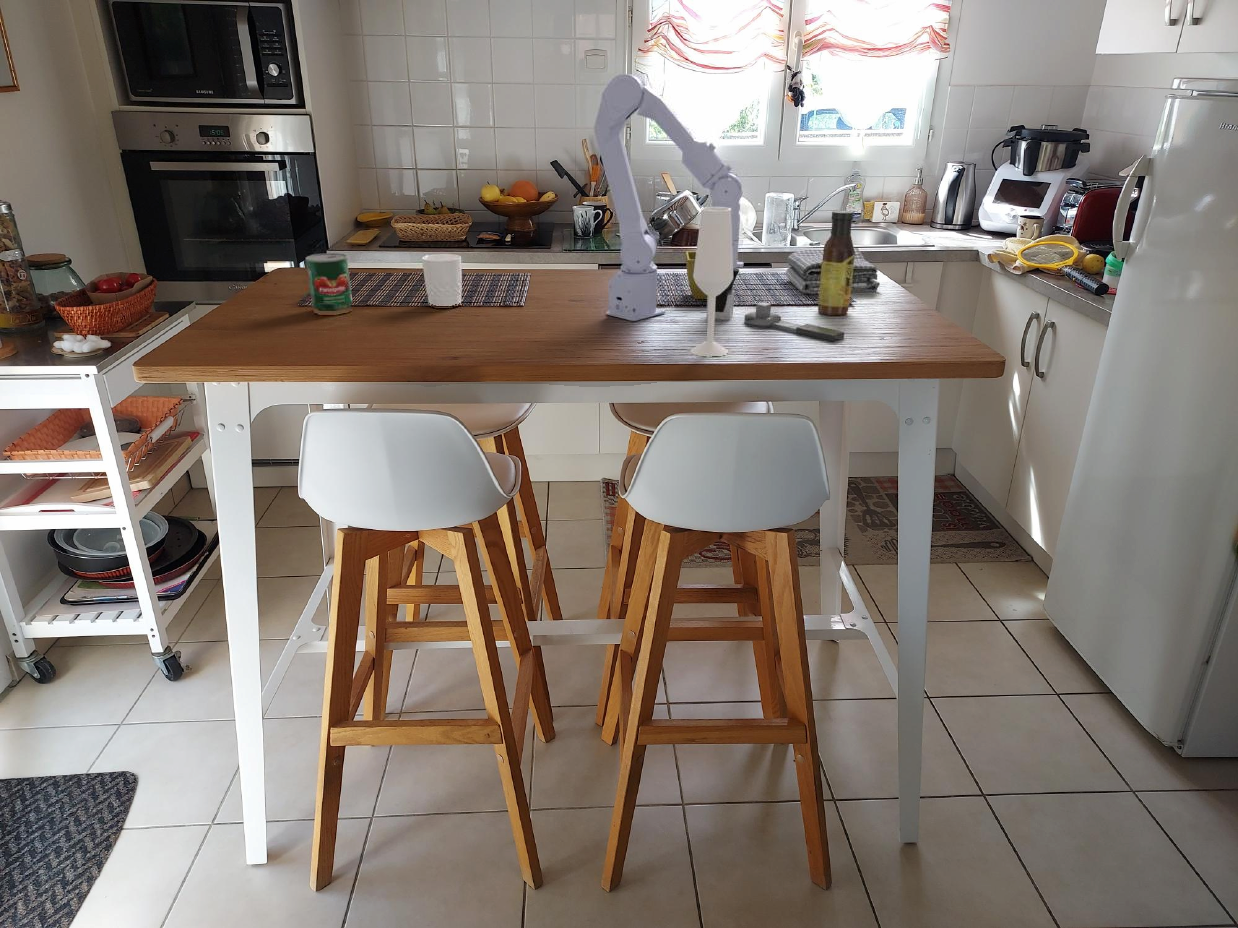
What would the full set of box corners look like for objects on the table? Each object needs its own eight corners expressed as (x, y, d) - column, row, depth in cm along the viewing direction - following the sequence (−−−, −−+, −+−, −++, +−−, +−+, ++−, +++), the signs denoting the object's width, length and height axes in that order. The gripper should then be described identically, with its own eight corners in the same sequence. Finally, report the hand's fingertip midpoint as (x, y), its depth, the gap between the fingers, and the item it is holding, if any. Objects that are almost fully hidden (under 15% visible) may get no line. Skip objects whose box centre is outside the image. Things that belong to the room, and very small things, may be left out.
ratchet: (848, 337, 156) (851, 316, 154) (827, 345, 151) (829, 323, 150) (758, 317, 169) (759, 298, 168) (736, 323, 165) (738, 304, 163)
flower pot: (727, 302, 181) (729, 259, 177) (686, 301, 181) (687, 259, 177) (723, 292, 189) (725, 251, 185) (684, 292, 189) (685, 251, 185)
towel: (782, 281, 201) (785, 247, 197) (857, 280, 202) (861, 246, 199) (800, 296, 187) (804, 260, 184) (881, 294, 188) (885, 259, 185)
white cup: (468, 301, 180) (465, 254, 176) (458, 310, 173) (455, 261, 169) (432, 300, 181) (428, 253, 177) (421, 309, 174) (416, 260, 170)
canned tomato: (328, 318, 168) (320, 262, 163) (305, 312, 172) (296, 257, 168) (361, 310, 173) (355, 256, 169) (338, 304, 178) (331, 251, 173)
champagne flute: (725, 346, 150) (733, 206, 141) (731, 357, 144) (740, 211, 134) (688, 346, 150) (693, 206, 140) (692, 357, 144) (698, 212, 134)
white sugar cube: (729, 320, 167) (731, 295, 165) (706, 318, 168) (707, 293, 166) (733, 314, 171) (734, 290, 169) (710, 313, 172) (711, 288, 170)
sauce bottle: (849, 317, 169) (861, 214, 161) (817, 315, 170) (827, 213, 162) (847, 309, 175) (859, 210, 166) (816, 308, 176) (826, 209, 168)
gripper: (739, 246, 156) (735, 319, 161) (749, 234, 168) (745, 301, 174) (701, 244, 157) (698, 316, 163) (714, 232, 170) (711, 299, 176)
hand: (720, 308), depth 169 cm, fingers closed on white sugar cube, 5 cm apart
